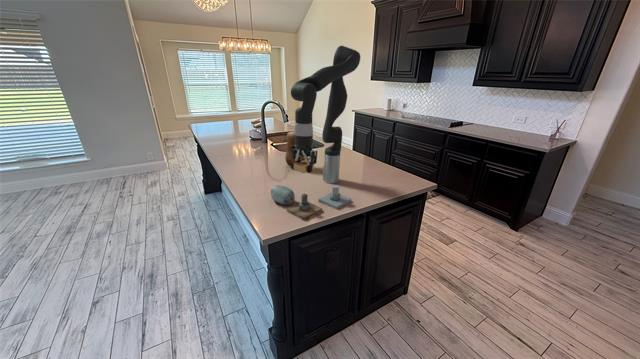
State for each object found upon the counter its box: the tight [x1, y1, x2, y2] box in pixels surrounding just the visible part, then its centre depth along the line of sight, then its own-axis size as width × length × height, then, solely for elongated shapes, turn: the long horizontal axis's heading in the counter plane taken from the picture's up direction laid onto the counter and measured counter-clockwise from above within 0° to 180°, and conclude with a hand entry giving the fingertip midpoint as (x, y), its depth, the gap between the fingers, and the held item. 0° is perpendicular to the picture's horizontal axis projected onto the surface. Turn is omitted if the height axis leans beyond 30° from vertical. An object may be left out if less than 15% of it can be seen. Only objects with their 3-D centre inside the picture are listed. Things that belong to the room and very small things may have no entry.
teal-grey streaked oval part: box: [270, 185, 296, 206], centre depth 128 cm, size 14×10×10 cm
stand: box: [286, 193, 323, 221], centre depth 119 cm, size 12×12×8 cm
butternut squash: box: [284, 130, 306, 169], centre depth 173 cm, size 14×13×25 cm
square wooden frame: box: [293, 160, 315, 174], centre depth 112 cm, size 6×6×3 cm
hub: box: [318, 184, 352, 210], centre depth 129 cm, size 12×12×8 cm
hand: (304, 170), depth 112 cm, fingers closed on square wooden frame, 6 cm apart
